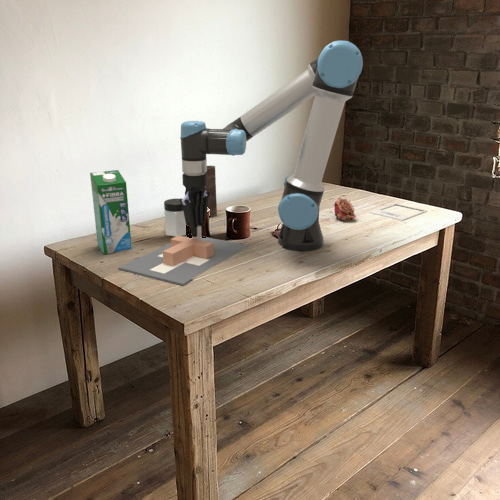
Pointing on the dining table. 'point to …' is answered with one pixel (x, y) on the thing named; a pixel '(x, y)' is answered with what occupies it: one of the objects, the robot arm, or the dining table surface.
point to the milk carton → (111, 211)
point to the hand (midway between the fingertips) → (197, 245)
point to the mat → (185, 270)
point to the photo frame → (393, 215)
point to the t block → (186, 250)
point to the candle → (211, 190)
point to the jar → (174, 218)
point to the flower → (344, 209)
